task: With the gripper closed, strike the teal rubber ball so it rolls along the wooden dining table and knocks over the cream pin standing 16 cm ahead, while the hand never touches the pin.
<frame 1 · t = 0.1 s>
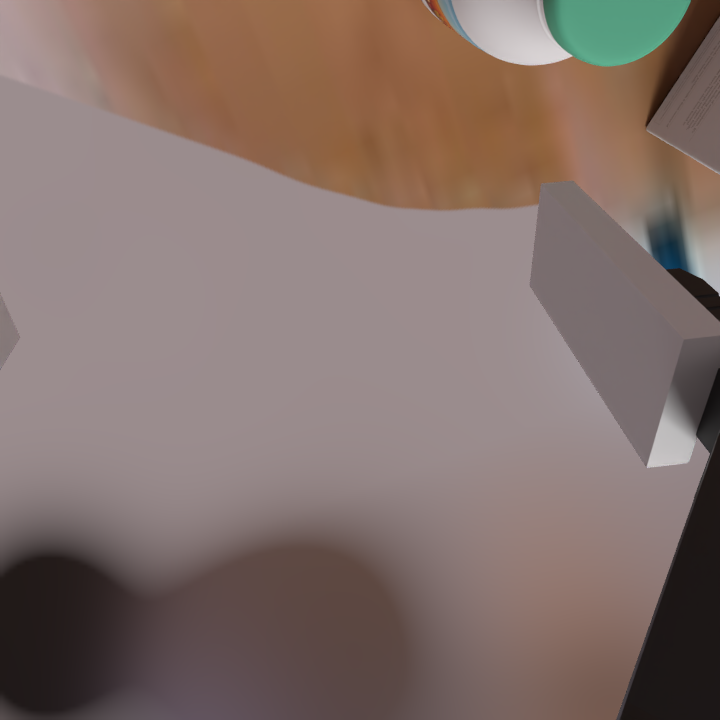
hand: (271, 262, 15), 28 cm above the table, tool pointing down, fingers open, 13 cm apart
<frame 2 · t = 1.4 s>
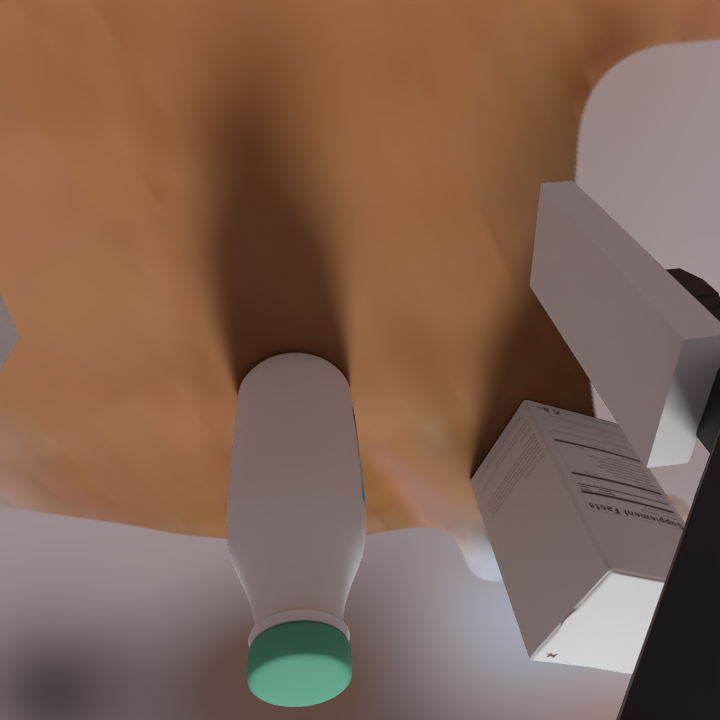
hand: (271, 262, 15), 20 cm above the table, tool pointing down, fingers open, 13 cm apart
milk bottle: (294, 392, 44), on the table
supplement box 2: (543, 450, 49), on the table
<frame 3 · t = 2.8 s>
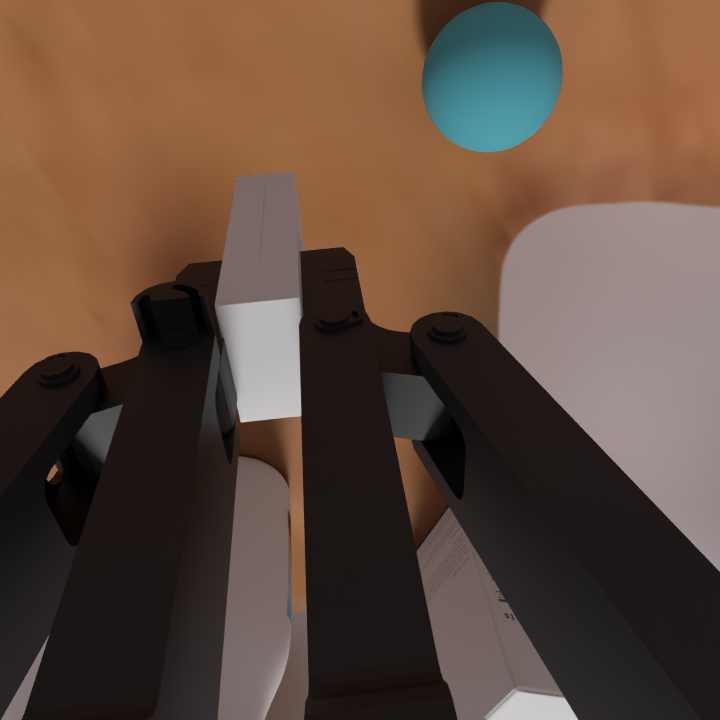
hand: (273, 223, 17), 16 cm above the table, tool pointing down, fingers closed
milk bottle: (236, 489, 46), on the table
ball: (490, 80, 28), on the table
supplement box 2: (476, 539, 52), on the table
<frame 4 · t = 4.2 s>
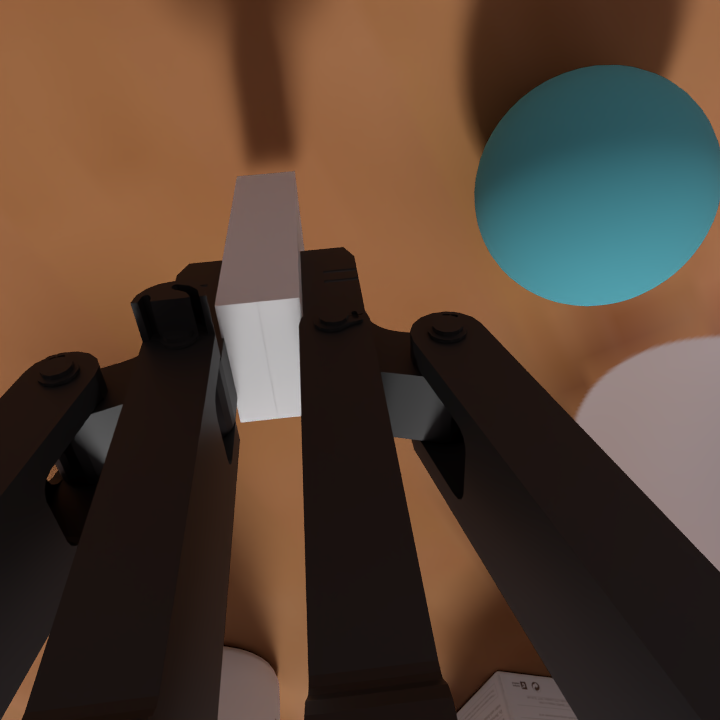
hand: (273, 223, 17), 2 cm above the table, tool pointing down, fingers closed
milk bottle: (208, 676, 35), on the table
ball: (590, 191, 17), on the table
supplement box 2: (519, 708, 41), on the table
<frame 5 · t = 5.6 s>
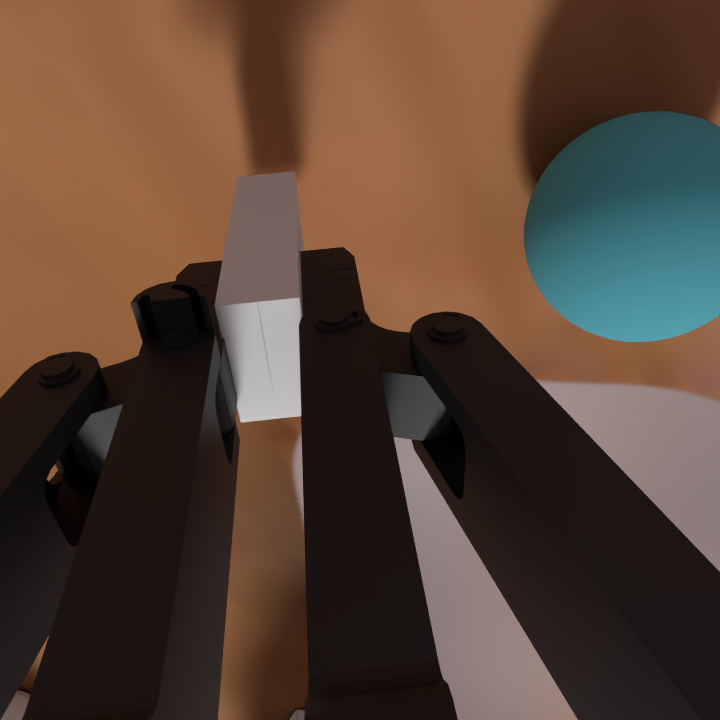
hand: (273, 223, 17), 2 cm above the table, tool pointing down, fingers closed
ball: (639, 230, 17), on the table
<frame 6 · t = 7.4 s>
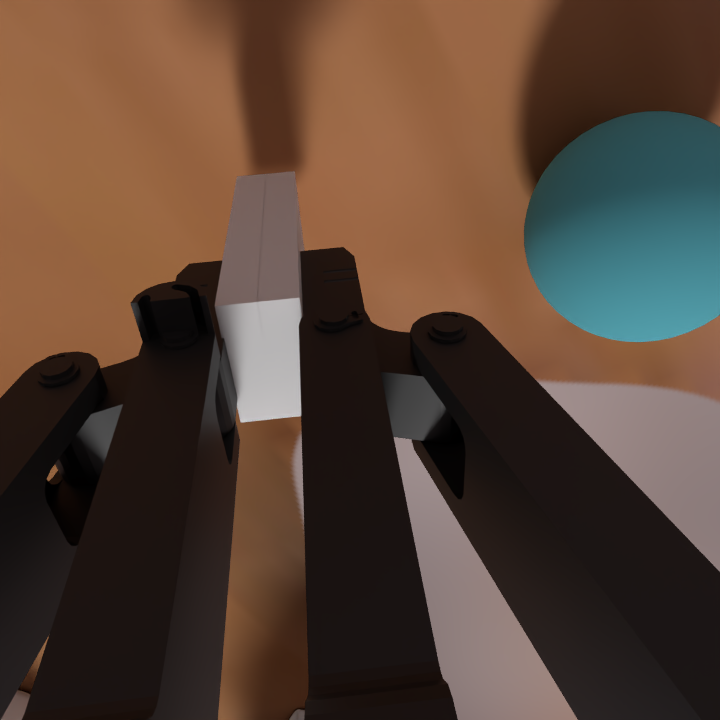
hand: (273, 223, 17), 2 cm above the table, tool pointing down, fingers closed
ball: (639, 230, 17), on the table
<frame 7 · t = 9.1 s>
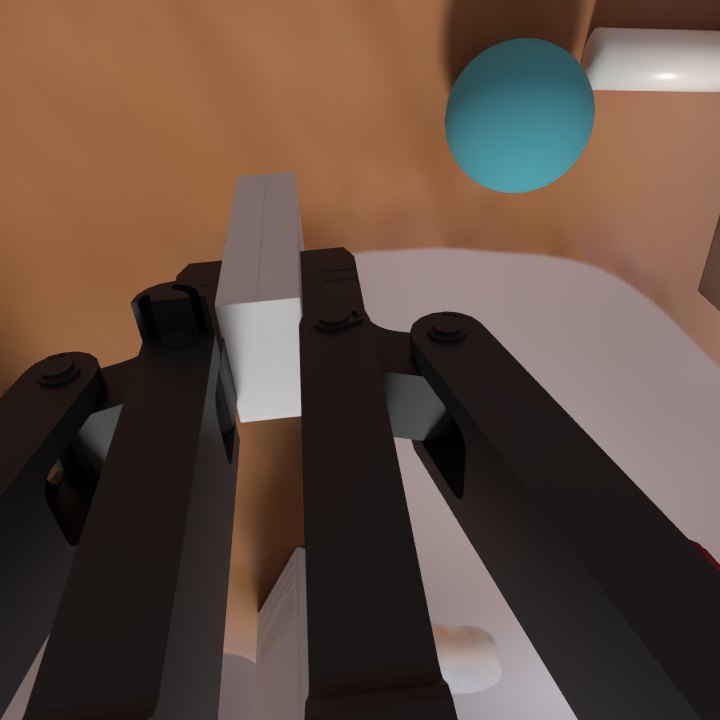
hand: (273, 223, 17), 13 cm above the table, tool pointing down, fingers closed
pin: (593, 59, 27), point 1 cm above the table, tilted 90°, touching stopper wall
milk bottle: (55, 539, 43), on the table
ball: (517, 118, 26), on the table
supplement box 2: (330, 588, 49), on the table
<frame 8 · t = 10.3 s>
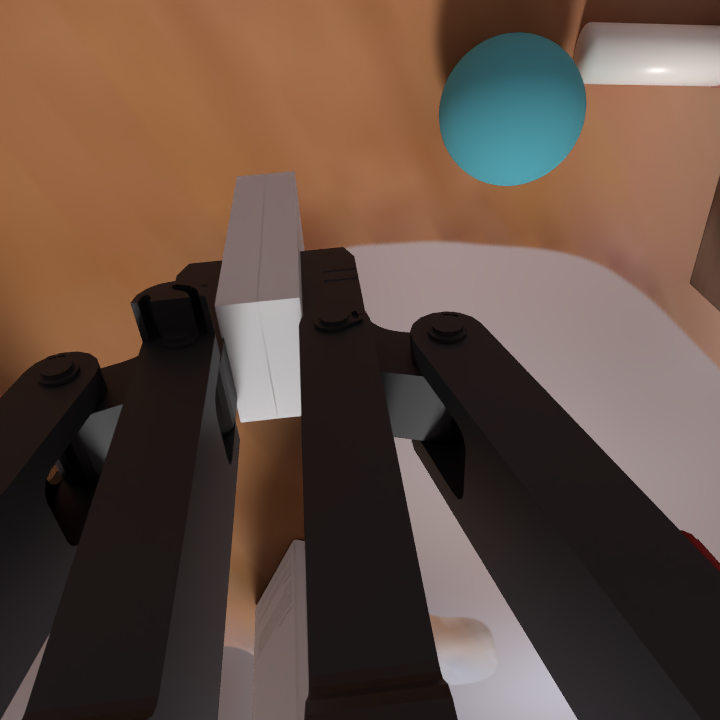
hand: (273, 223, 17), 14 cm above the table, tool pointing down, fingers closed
pin: (585, 53, 27), point 1 cm above the table, tilted 90°, touching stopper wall
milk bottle: (54, 533, 44), on the table
plastic cup: (660, 548, 51), on the table
ball: (510, 112, 27), on the table
supplement box 2: (327, 580, 50), on the table
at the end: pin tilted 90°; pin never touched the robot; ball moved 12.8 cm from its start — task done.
